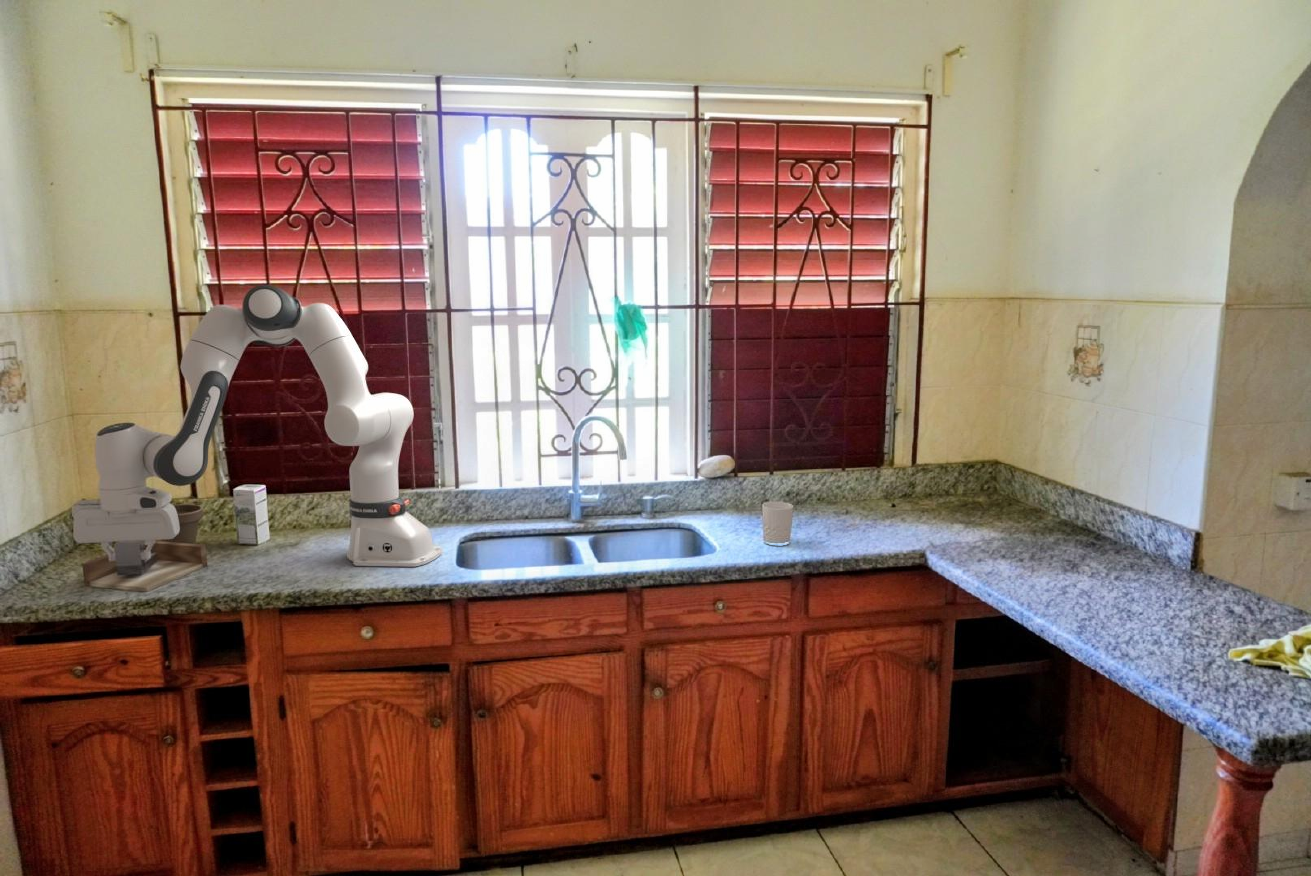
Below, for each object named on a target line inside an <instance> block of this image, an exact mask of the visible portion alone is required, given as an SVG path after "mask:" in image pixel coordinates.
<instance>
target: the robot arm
mask: <svg viewBox="0 0 1311 876" xmlns="http://www.w3.org/2000/svg"><path fill="white" fill-rule="evenodd" d="M295 340H297V341H298V342H300V344H301V345H302V346H303V348H304V350H305V353H306V354H307V356H308V357H309V359H310V361H311V363H312V365H313V367H314V369H315V371H316V372H317V374H318V376H319V378H320V380H321V382H322V385H323V387H324V390H325V392H326V398H327V412H326V414H325V417H324V420H323V421H324V423H323V424H324V430H325V432H326V434H327V436H328V438H329V439H330V440H331V441H332V442H333V443H335V444H337V445H339V446H346V447H347V446H348V447H353V446H354V447H358V451H357V453H356V456H355V458H354V459H353V461H352V462H351V463H350V466H349V469H348V470H349V473H348V475H349V488H350V498H349V501H348V506H349V507H348V509H349V516H350V520H351V522H350V524H351V525H350V526H351V527H350V538H349V545H348V549H347V553H346V558H347V559H348V560H350V561H351V562H352V564H353V566H358V567H411V568H412V567H413V568H414V567H420V566H423V565H425V564H428V563H431V562H432V561H434V560H436V559H438V557H440V556H441V555H442V554H443V548H442V546H440V545H435V544H434V543H433V537H432V534H431V533H432V532H431V530H430V528H429V527H427V526H426V525H425V524H423V523H422V522H421V521H419V520H418V519H417V518H416V517H414V516H413V515H411V513H409V512H408V511H407V509H406V506H408V505H409V504H410V500H409V499H407V500H403V499H402V497H401V495H400V494H399V493H400V492H399V463H400V462H399V460H400V454H401V450H402V447H403V442H404V439H405V436H406V433H407V431H408V429H409V427H411V425H412V423H413V420H414V415H415V414H414V408H413V405H412V403H411V402H410V400H409V399H408V398H407V397H406V396H404V395H402V394H398V393H392V392H380V393H375V394H371V393H370V390H369V388H368V385H367V382H366V375H367V373H368V372H369V364H368V361H367V359H366V358H365V356H364V354H363V352H362V351H361V349H360V347H359V345H358V343H357V342H356V340H355V338H354V337H353V334H352V333H351V331H350V329H349V328H348V326H347V325H346V323H345V322H344V321H343V319H342V318H341V316H339V314H338V313H337V311H335V309H334V307H332V306H330V305H329V304H326V303H324V302H314V303H310V304H307V305H304V306H302V303H301V301H300V300H299V299H298V298H296V297H294V296H293V295H291V294H289V293H288V292H287V291H284V290H283V289H281V288H279V287H277V286H274V285H272V284H259V285H256V286H254V287H253V288H251V289H250V290H248V291H247V292H246V294H245V296H244V297H243V299H242V308H240V307H239V308H238V307H235V306H232V305H228V304H217V305H214V306H212V307H211V308H210V309H209V310H208V311H207V313H206V314H205V315H204V316H203V317H202V319H201V320H200V322H199V323H198V325H197V326H196V328H195V330H194V332H193V333H192V335H191V337H190V338H189V340H188V341H187V344H186V347H185V349H184V350H183V354H182V357H181V362H180V370H181V374H182V376H183V379H185V381H186V382H187V384H188V385H189V388H190V393H191V394H190V395H191V396H190V397H191V398H190V402H189V405H188V407H187V410H186V412H185V415H184V416H183V420H182V422H181V425H180V427H179V429H178V432H177V433H176V434H175V435H171V434H168V433H161V432H157V431H153V430H150V429H147V428H144V427H142V426H139V425H137V424H136V423H134V422H119V423H115V424H114V423H113V424H111V425H108V426H105V427H103V428H101V429H100V430H99V431H98V432H97V433H96V436H95V439H94V440H95V442H94V459H95V461H94V462H95V469H96V471H97V474H98V477H99V481H98V485H97V486H98V489H97V490H98V495H99V499H88V500H86V499H81V500H78V501H77V502H75V503H74V504H72V507H71V516H72V518H73V528H72V529H73V539H74V541H75V542H76V543H77V544H92V543H93V544H94V543H97V544H98V543H100V546H101V548H102V549H103V551H104V552H105V553H106V555H107V554H108V557H109V561H116V557H115V549H114V548H113V547H112V546H111V545H113V543H114V542H115V543H117V542H123V541H145V545H148V546H147V548H146V550H143V551H142V552H141V553H140V554H141V560H149V559H150V558H151V549H152V547H153V545H154V543H155V541H161V539H173V538H174V537H175V536H177V534H178V533H179V531H180V526H179V519H178V515H177V511H176V509H175V507H174V506H173V505H174V504H172V503H171V501H172V497H173V496H172V494H171V492H169V491H165V490H161V489H158V488H153V487H149V486H147V479H149V478H152V477H156V478H158V479H161V480H162V481H164V482H166V483H167V484H169V485H172V486H175V487H183V486H184V487H185V486H188V485H191V484H193V483H196V482H197V481H198V480H200V478H201V477H202V476H203V475H204V474H205V472H206V470H207V467H208V463H209V447H210V441H211V439H212V436H213V434H214V430H215V428H216V425H217V422H218V420H219V418H220V415H221V412H222V409H223V406H224V404H225V401H226V397H227V393H228V391H229V386H230V382H231V380H232V378H233V375H234V373H235V371H236V369H237V367H238V364H239V362H240V360H241V358H242V355H243V354H244V351H245V350H246V347H248V345H249V344H250V343H252V344H254V345H261V346H271V347H285V346H289V345H290V344H292V343H294V341H295Z"/></svg>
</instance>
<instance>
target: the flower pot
mask: <svg viewBox="0 0 1311 876" xmlns="http://www.w3.org/2000/svg"><path fill="white" fill-rule="evenodd" d="M172 505H173V506H174V507H175V509H176V511H177V515H178V519H179V526H180V531H179V533H178V534H177V536H175V537H174V538H173V539H161V540H160V541H164V542H176V543H188V544H196V539H197V536H198V529H199V524H200V520H201V519H203V517H204V507H203V506H201V505H199V504H191V503H190V504H189V503H187V504H185V503H184V504H183V503H181V504H179V503H178V504H172Z"/></svg>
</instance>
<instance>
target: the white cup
mask: <svg viewBox="0 0 1311 876" xmlns="http://www.w3.org/2000/svg"><path fill="white" fill-rule="evenodd" d="M761 507H762V510H761V511H762V518H761V519H762V533H763V534H762V537H763V538H762V541H763V540H764V541H765V542H769V543H785V542H789V541H790V542H791V534H792V528H793V527H792V526H793V515H794V513H793V512H794V505H793V504H791V503H789V502H786V501H767V502H763V503H762V505H761Z"/></svg>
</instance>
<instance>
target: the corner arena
mask: <svg viewBox="0 0 1311 876" xmlns="http://www.w3.org/2000/svg"><path fill="white" fill-rule="evenodd" d="M142 541H143V547H144V550H146V548H147V546H148V545H145V541H144V540H142ZM151 553H157V562H156V563H155V564H154V565H152V566H151V567H150V568H149V569H148V570H147V571H145V572H144V573H143V574H131V575H117V566H116V561H109V557H108V554H107V553H106V554H105V555H102V556H99V557H97V558H94V559H91V560H88V561H85V562H83V563H82V565H81V566H82V574H83V576H82V577H83V584H84V585H83V586H84V587H92V588H93V587H94V588H104V589H113V590H115V589H116V590H126V591H136V592H146V593H148V592H150V591H152V590H155V589H157V588H159V587H162V586H164V585H166V584H168V583H171V582H173V581H175V580H177V579H180V578H182V577H185V576H187V575H190V574H191V573H193V572H196V571H198V570H201V569H203V568H205V567H208V556H207V546H206V544H199V543H195V544H188V543H176V542H164V541H161V540H155V543H154V545H153V547H152V549H151Z"/></svg>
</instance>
